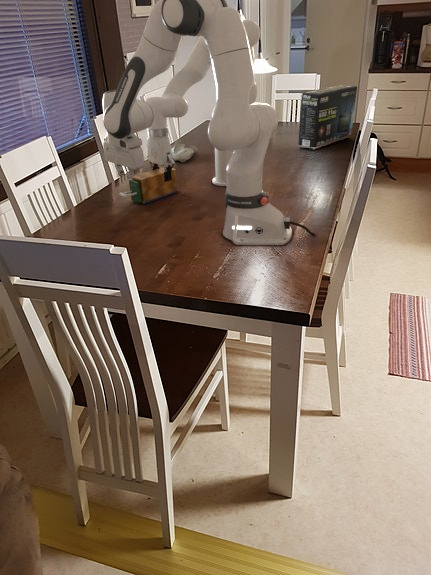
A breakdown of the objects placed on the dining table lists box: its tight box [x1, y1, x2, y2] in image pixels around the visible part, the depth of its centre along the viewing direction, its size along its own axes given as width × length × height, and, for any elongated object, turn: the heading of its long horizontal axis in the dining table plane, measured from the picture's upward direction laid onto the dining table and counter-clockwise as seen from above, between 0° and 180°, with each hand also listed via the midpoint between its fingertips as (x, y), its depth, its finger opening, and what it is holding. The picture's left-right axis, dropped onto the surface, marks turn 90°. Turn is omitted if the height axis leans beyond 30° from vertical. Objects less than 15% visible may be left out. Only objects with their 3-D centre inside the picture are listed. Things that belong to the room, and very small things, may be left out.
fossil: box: [171, 142, 199, 163], centre depth 229 cm, size 18×11×15 cm
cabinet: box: [131, 166, 179, 205], centre depth 180 cm, size 17×6×10 cm, turn 135°
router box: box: [297, 84, 358, 151], centre depth 238 cm, size 36×11×27 cm, turn 134°
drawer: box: [118, 179, 143, 204], centre depth 177 cm, size 22×5×8 cm, turn 135°
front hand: (125, 176), depth 169 cm, fingers open, 4 cm apart
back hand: (162, 178), depth 182 cm, fingers closed on cabinet, 6 cm apart
